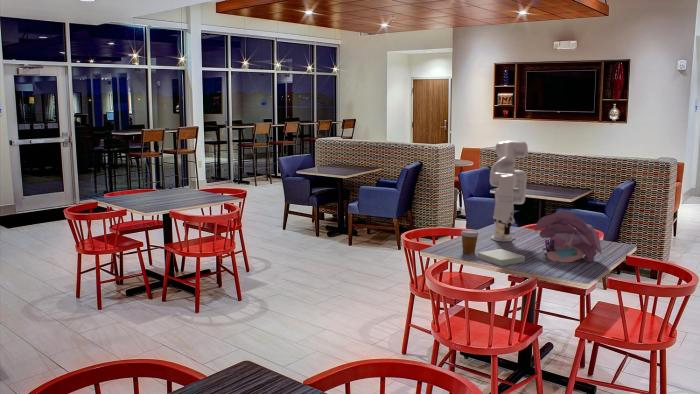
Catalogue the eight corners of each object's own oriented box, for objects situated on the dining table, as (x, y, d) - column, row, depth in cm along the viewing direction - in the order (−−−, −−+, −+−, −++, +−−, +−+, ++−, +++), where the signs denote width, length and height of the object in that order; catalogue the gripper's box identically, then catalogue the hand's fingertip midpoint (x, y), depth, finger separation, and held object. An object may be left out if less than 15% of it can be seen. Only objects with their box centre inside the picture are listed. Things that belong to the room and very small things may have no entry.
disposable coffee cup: (464, 255, 334) (465, 233, 332) (456, 250, 343) (458, 229, 341) (480, 254, 337) (481, 233, 335) (472, 250, 346) (473, 229, 344)
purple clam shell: (531, 266, 335) (527, 217, 327) (540, 248, 354) (537, 202, 346) (600, 270, 318) (597, 218, 309) (606, 251, 337) (604, 202, 329)
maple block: (502, 232, 328) (503, 221, 327) (509, 234, 324) (510, 223, 323) (495, 233, 325) (496, 222, 324) (502, 235, 321) (503, 224, 320)
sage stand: (500, 254, 339) (500, 248, 338) (524, 261, 325) (524, 256, 324) (477, 258, 330) (477, 252, 329) (501, 266, 316) (501, 260, 315)
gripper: (488, 196, 327) (485, 230, 330) (512, 202, 313) (510, 237, 316) (498, 195, 331) (495, 229, 334) (522, 201, 317) (520, 235, 320)
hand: (502, 232), depth 325 cm, fingers closed on maple block, 4 cm apart
